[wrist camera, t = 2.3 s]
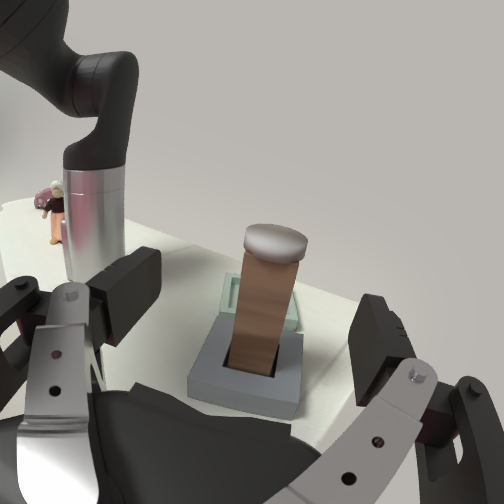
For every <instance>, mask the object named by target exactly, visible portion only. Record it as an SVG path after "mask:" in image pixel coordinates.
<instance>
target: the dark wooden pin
mask: <svg viewBox="0 0 504 504" xmlns="http://www.w3.org/2000/svg"><path fill="white" fill-rule="evenodd" d="M307 243H308V239H307V238H306V237H305V236H304V235H303V234H301V233H300V232H298V231H296V230H293V229H291V228H288V227H283V226H279V225H273V224H255V225H251V226H249V227H247V229H246V232H245V240H244V248H245V250H246V251H245V253H244V258H243V265H242V272H241V278H240V285H239V292H238V299H237V306H236V313H235V320H234V327H233V334H232V341H231V348H230V355H229V362H228V368H230V369H234V370H238V371H243V372H247V373H251V374H256V375H261V376H265V377H269V375H270V371H271V368H272V365H273V361H274V358H275V354H276V351H277V347H278V344H279V340H280V336H281V333H282V329H283V325H284V322H285V318H286V314H287V310H288V307H289V303H290V299H291V295H292V291H293V287H294V283H295V279H296V275H297V271H298V267H299V261H300V260H302V259H303V258H304V256H305V251H306V247H307Z"/></svg>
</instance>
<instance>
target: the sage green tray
mask: <svg viewBox="0 0 504 504" xmlns="http://www.w3.org/2000/svg"><path fill="white" fill-rule="evenodd" d="M240 278H241V275H238V274H230V273H226V275H225V281H224V286H223V292H222V298H221V304H220V310H219V316H221V317H226V318H230V319H234V320H235V313H236V306H237V299H238V292H239V285H240ZM298 321H299V320H298V315H297V310H296V306H295V301H294V297H293V292H292V295H291V299H290V303H289V307H288V310H287V314H286V318H285V322H284V325H283V329H282V330H284V331H289V332H295V331H296V327H297V324H298Z"/></svg>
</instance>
